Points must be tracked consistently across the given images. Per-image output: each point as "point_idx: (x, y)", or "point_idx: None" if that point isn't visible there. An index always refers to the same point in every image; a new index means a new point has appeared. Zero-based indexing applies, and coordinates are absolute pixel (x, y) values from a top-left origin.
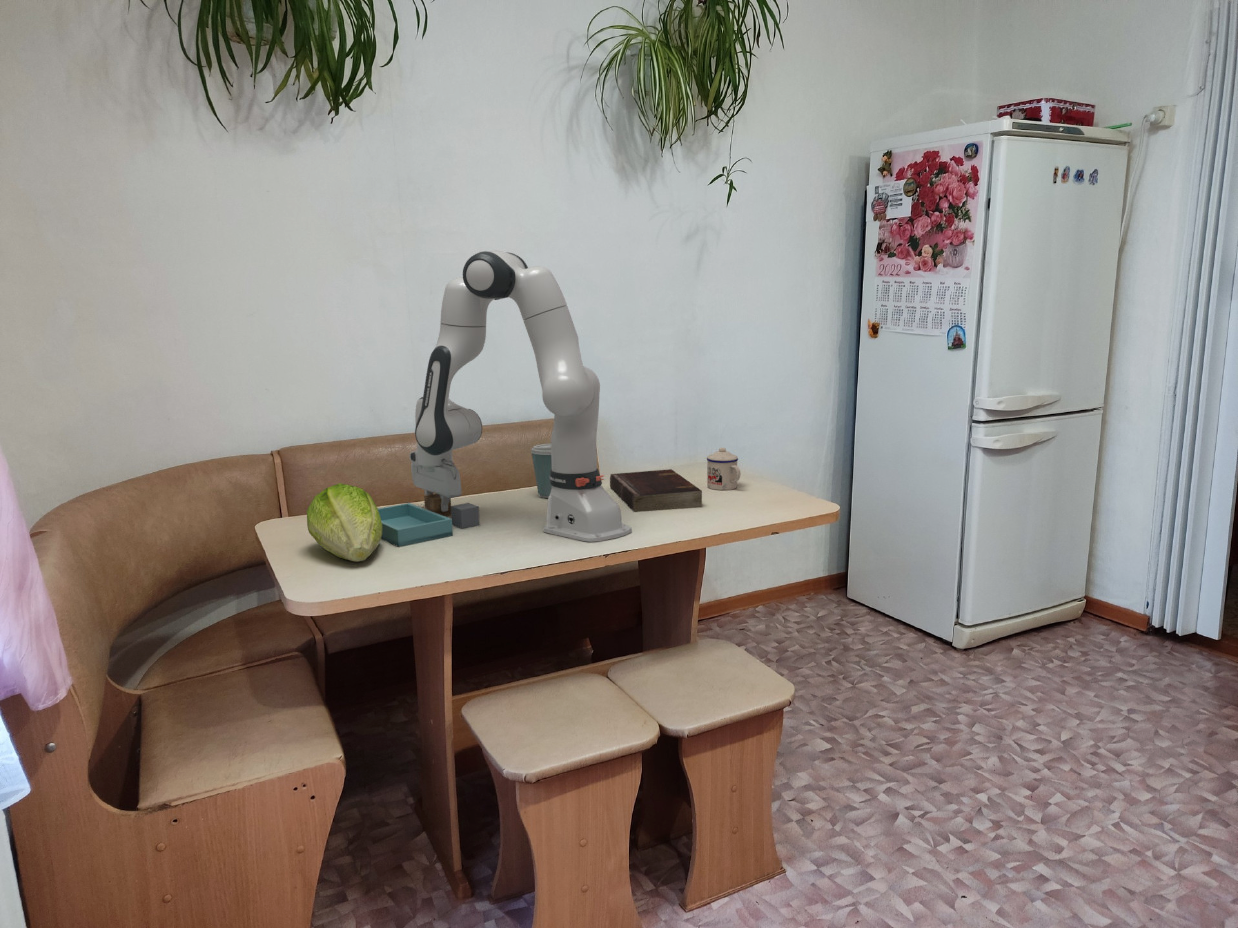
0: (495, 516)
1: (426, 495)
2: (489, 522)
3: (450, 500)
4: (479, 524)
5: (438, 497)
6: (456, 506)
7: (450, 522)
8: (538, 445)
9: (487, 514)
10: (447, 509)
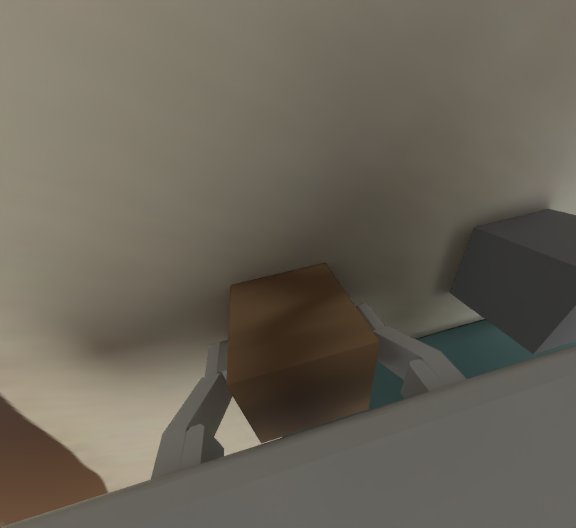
0: (553, 34)
1: (215, 430)
2: (572, 147)
3: (361, 318)
4: (553, 210)
5: (349, 394)
6: (565, 336)
7: (571, 343)
8: None
9: (473, 62)
10: (367, 308)
